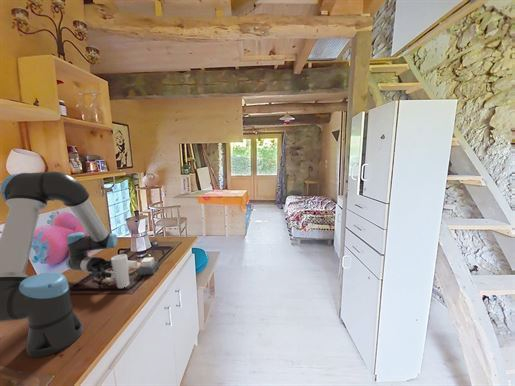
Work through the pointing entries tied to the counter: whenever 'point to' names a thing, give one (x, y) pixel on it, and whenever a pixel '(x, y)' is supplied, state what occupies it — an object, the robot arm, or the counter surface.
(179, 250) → the counter surface
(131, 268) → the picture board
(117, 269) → the drinking glass
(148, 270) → the button housing
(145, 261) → the button
